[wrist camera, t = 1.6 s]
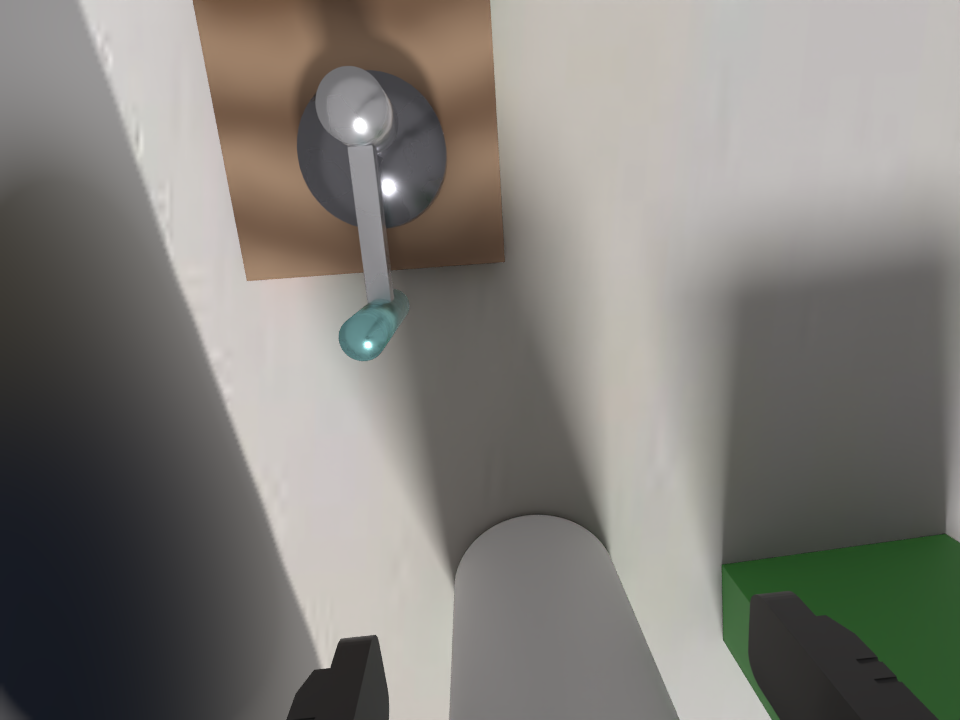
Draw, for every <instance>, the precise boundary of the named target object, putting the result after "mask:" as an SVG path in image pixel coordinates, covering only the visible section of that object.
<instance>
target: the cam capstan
mask: <svg viewBox="0 0 960 720" xmlns="http://www.w3.org/2000/svg"><path fill="white" fill-rule="evenodd" d="M297 155H298V161H299V166H300V170H301V173H302V175H303V178H304V180H305V182H306V184H307V187H308V188H309V190H310V191H311V193H312V195H313V196H314V197H315V199H316V200H317V201H318V202H319V203H320V204H321V205H322V206H323V207H324V208H325V209H326V210H327V211H328V212H329V213H331V214H332V215H333V216H335V217H336V218H338V219H340V220H342V221H343V222H346V223H348V224H351V225H353V226H357V227H358V232H359V239H360V247H361V254H362V262H363V270H364V277H365V285H366V293H367V300H368V304H367V305H366V306H364V307H363V308H362V309H361V310H359V311H358V312H357V313H356V314H354V315H353V316H352V317H351V318H349V319H348V320H347V321H346V322H345V323H344V324H343V325H342V327H341V329H340V331H339V343H340V346H341V348H342V350H343V351H344V352H345V353H346V354H347V355H348V356H349V357H351V358H353V359H355V360H358V361H368V360H372V359H374V358H376V357H377V356H378V355H379V354H380V353H381V352H382V351H383V349H384V348H385V346H386V345H387V343H388V342H389V340H390V339H391V337H392V336H393V334H394V333H395V331H396V330H397V329H398V327H399V326H400V324H401V323H402V321H403V320H404V318H405V317H406V315H407V314H408V311H409V301H408V299H407V297H406V295H405V294H404V293H402V292H401V291H399V290H396V289H393V284H392V275H391V267H390V258H389V249H388V241H387V232H386V229H388V228H395V227H398V226H402V225H405V224H407V223H409V222H411V221H413V220H415V219H416V218H418V217H419V216H421V215H422V214H423V213H424V212H425V211H426V210H427V209H428V208H429V207H430V206H431V205H432V204H433V202H434V201H435V199H436V198H437V196H438V194H439V192H440V190H441V188H442V185H443V183H444V179H445V175H446V170H447V148H446V142H445V138H444V135H443V131H442V128H441V125H440V122H439V120H438V117H437V115H436V114H435V112H434V110H433V108H432V107H431V105H430V104H429V103H428V101H427V100H426V99H425V97H424V96H423V95H422V94H421V93H420V92H419V91H418V90H417V89H415V88H414V87H413V86H412V85H411V84H409V83H407V82H406V81H404V80H403V79H401V78H399V77H396V76H394V75H392V74H389V73H385V72H382V71H375V70H363V69H361V68H358V67H354V66H342V67H339V68H336V69H334V70H332V71H331V72H329V73H328V74H327V75H326V76H325V77H324V78H323V79H322V81H321V82H320V84H319V86H318V89H317V92H316V93H315V95H314V96H313V97H312V98H311V100H310V101H309V103H308V105H307V106H306V108H305V110H304V113H303V115H302V117H301V121H300V124H299V128H298V134H297Z"/></svg>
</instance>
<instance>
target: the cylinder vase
mask: <svg viewBox="0 0 960 720" xmlns="http://www.w3.org/2000/svg"><path fill="white" fill-rule="evenodd" d="M449 720H679V717H678V715H677V712H676V710H675V708H674V705H673V703H672V701H671V698H670V696H669V694H668V691H667V689H666V687H665V684H664V682H663V680H662V677H661V675H660V672H659V670H658V668H657V665H656V663H655V661H654V658H653V656H652V654H651V651H650V649H649V647H648V644H647V642H646V640H645V637H644V635H643V632H642V630H641V628H640V625H639V623H638V621H637V618H636V616H635V614H634V611H633V609H632V607H631V604H630V602H629V600H628V597H627V595H626V592H625V590H624V588H623V585H622V583H621V581H620V578H619V576H618V574H617V571H616V569H615V567H614V564H613V562H612V559H611V557H610V555H609V553H608V552H607V550H606V548H605V547H604V546H603V544H602V543H601V542H600V541H599V540H598V539H597V538H596V537H595V536H594V535H593V534H592V533H591V532H589V531H588V530H587V529H585V528H584V527H582V526H580V525H578V524H577V523H574V522H572V521H570V520H567V519H564V518H560V517H556V516H550V515H526V516H520V517H516V518H512V519H509V520H506V521H503V522H501V523H499V524H497V525H495V526H493V527H491V528H490V529H488V530H487V531H485V532H484V533H483V534H481V535H480V536H479V537H478V538H477V539H476V540H475V541H474V542H473V543H472V544H471V545H470V547H469V548H468V549H467V551H466V552H465V554H464V556H463V557H462V559H461V561H460V564H459V566H458V569H457V573H456V577H455V586H454V611H453V637H452V662H451V687H450V712H449Z"/></svg>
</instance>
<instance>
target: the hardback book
mask: <svg viewBox="0 0 960 720" xmlns="http://www.w3.org/2000/svg"><path fill="white" fill-rule="evenodd" d="M783 591H791V592H793V593H795V594H796V595H797V596H798V597H799V598H800V599H801V600H802V601H803V602H804V603H805V605H806V606H807V607H808V608H809V609H810V610H811V611H812V612H813V613H814V614H815V615H816V616H821V615H827V616H828V617H830V618H831V619H833V620H834V621H836V622H838V623H839V624H841V625H842V626H844V627H845V628H847V629H849V630H850V631H852V632H853V633H855V634H856V635H857V636H858V637H859V638H860V639H861V640H862V641H863V642H864V643H865V644H866V645H867V646H868V647H869V648H870V650H871V651H872V652H873V653H874V654H875V655H876V656H877V657H878V660H879V661H880V662H883V663H884V664H885V665H886V666H887V667H888V668H889V669H890V670H891V671H892V672H893V673H894V674H895V675H896V676H897V679H898V681H899V682H903V683H904V684H905V685H906V687H907V688H908V689H909V690H910V691H911V692H912V693H913V694H914V695H915V696H916V697H917V698H918V699H919V700H920V701H921V702H922V703H923V704H924V705H925V706H926V707H927V708H928V709H929V710H930V711H931V712H932V713H933V714H934V715H935V716H936V717H937V718H938V719H939V720H960V543H959V542H958V541H956V540H954V539H953V538H951V537H950V536H948V535H947V534H941V535H933V536H926V537H919V538H912V539H904V540H897V541H890V542H883V543H875V544H868V545H861V546H854V547H846V548H839V549H832V550H825V551H817V552H810V553H803V554H796V555H788V556H781V557H774V558H767V559H759V560H752V561H745V562H738V563H730V564H723V565H722V605H723V641H724V642H725V644H726V645H727V647H728V649H729V650H730V652H731V654H732V655H733V657H734V659H735V660H736V662H737V663H738V665H739V667H740V668H741V670H742V672H743V673H744V675H745V677H746V678H747V680H748V681H749V683H750V685H751V686H752V688H753V690H754V691H755V693H756V695H757V696H758V698H759V699H760V701H761V703H762V704H763V706H764V708H765V709H766V711H767V713H768V714H769V716H770V717H771V719H772V720H780V719H779V717H778V716H777V714H776V713H775V711H774V709H773V708H772V706H771V705H770V703H769V702H768V700H767V699H766V697H765V696H764V694H763V692H762V691H761V689H760V688H759V686H758V684H757V682H756V680H755V678H754V675H753V673H752V670H751V667H750V663H749V657H748V640H749V615H750V600H751V597H752V596H753V595H755V594H765V593H774V592H783Z"/></svg>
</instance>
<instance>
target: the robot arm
mask: <svg viewBox="0 0 960 720" xmlns="http://www.w3.org/2000/svg"><path fill="white" fill-rule="evenodd" d="M748 657H749V663H750V667H751V670H752V673H753V675H754V678H755V680H756V682H757V684H758V686H759V688H760V689H761V691H762V692H763V694H764V696H765V697H766V699H767V700H768V702H769V703H770V705H771V706H772V708H773V709H774V711H775V713H776V714H777V716H778V717H779V719H780V720H939V719H938V718H937V717H936V716H935V715H934V714H933V713H932V712H931V711H930V710H929V709H928V708H927V707H926V706H925V705H924V704H923V703H922V702H921V701H920V700H919V699H918V698H917V697H916V696H915V695H914V694H913V693H912V692H911V691H910V690H909V689H908V688H907V687H906V685H905V684H904V683H903V682H899V681H898V679H897V676H896V675H895V674H894V673H893V672H892V671H891V670H890V669H889V668H888V667H887V666H886V665H885V664H884V663H883V662H880V661H879V660H878V657H877V656H876V655H875V654H874V653H873V652H872V651H871V650H870V648H869V647H868V646H867V645H866V644H865V643H864V642H863V641H862V640H861V639H860V638H859V637H858V636H857V635H856V634H855V633H853V632H852V631H850V630H849V629H847V628H845V627H844V626H842V625H841V624H839V623H838V622H836V621H834V620H833V619H831V618H830V617H828V616H827V615H821V616H816V615H815V614H814V613H813V612H812V611H811V610H810V609H809V608H808V607H807V606H806V605H805V603H804V602H803V601H802V600H801V599H800V598H799V597H798V596H797V595H796V594H795V593H793V592H791V591H783V592H774V593H765V594H755V595H753V596H752V597H751V600H750V615H749V640H748ZM287 720H389V696H388V688H387V683H386V678H385V672H384V667H383V661H382V656H381V651H380V645H379V641H378V638H377V636H376V635H370V636H361V637H352V638H343V639H340V641H339V643H338V645H337V648H336V651H335V655H334V658H333V661H332V664H331V668H327V669H318V670H314V671H313V672H312V673H311V675H310V676H309V677H308V679H307V680H306V681H305V683H304V684H303V685H302V687H301V688H300V689H299V690H298V692H297V693H296V695H295V697H294V700H293V703H292V706H291V709H290V711H289V714H288V717H287Z"/></svg>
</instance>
